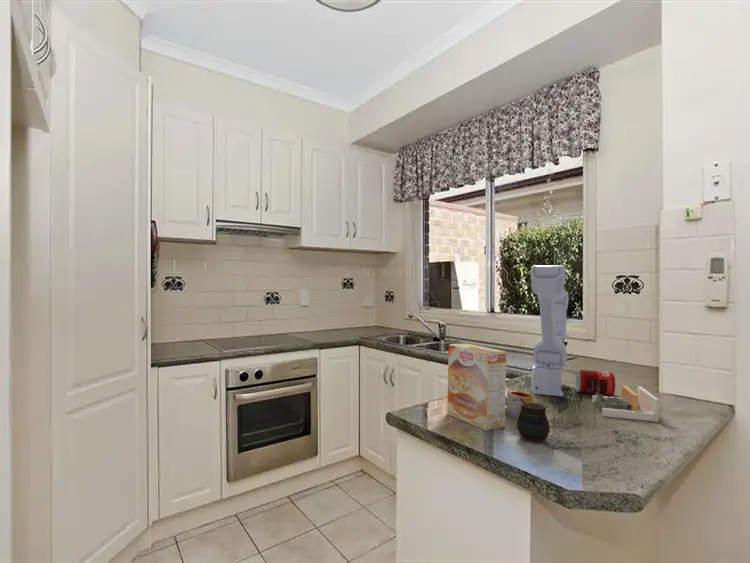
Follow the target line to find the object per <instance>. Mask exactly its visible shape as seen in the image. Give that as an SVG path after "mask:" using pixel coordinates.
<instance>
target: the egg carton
mask: <svg viewBox="0 0 750 563" xmlns="http://www.w3.org/2000/svg"><path fill="white" fill-rule="evenodd" d="M594 395H596V396H597V399H596V403H595V406H596V407H598V408H599V410H602V408H609V409H619V410H629V405H630V404H629V403H628V402H627V401H625V400H624V399H623V398H621V397H618V396H617V397H618V398H617V397H616V396H613V397H614V398H610V397H611V396H607V397H608V399H604V398H603V396H604V394H597V392H596V393H595V394H594Z"/></svg>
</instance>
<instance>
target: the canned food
mask: <svg viewBox="0 0 750 563" xmlns="http://www.w3.org/2000/svg"><path fill="white" fill-rule="evenodd" d="M575 389H576V390H575V391H576V392H577V393H584V394H593V395H597V394H600V395H603V396H612V395H614V394H615V392H616V378H615V374H614V373H613V372H610V371H599V370H587V369H586V370H585V369H576V372H575ZM596 392H597V394H595V393H596Z"/></svg>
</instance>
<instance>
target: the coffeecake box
mask: <svg viewBox="0 0 750 563" xmlns="http://www.w3.org/2000/svg"><path fill="white" fill-rule="evenodd" d="M447 358H448V360H447V361H448V365H447V404H446V405H447V408H446V410H447V411H446V412H447V413H446V415H448V416H451V417H453V418H455V419H458V420H460V421H463V422H465V423H467V424H470V425H471V426H472V425H473V426H475V427H477V428H478V429H481V430H484V431H490V430H491V431H492V430H494V429H500V428H504V427H505V426H506V414H505V408H506V405H505V396H506V387H507V386H506V383H507V381H506V379H507V351H506V350H500V349H496V348H492V347H491V348H490V347H488V346H487V347H485V346H481V345H476V344H471V343H467V342H465V343H451V344H448V355H447Z"/></svg>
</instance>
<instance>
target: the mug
mask: <svg viewBox="0 0 750 563" xmlns="http://www.w3.org/2000/svg"><path fill="white" fill-rule="evenodd" d="M520 398H522V400H523V401H524V402H534V395H533V394H530V393H526V392H523V391H520V390H514V391H507V394H506V395H505V416H508V417H509V418H511V419H512V420H513V419H514V420H516V421H518V417H519V415H520V412H521V404H522V401H521V400H520Z"/></svg>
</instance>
